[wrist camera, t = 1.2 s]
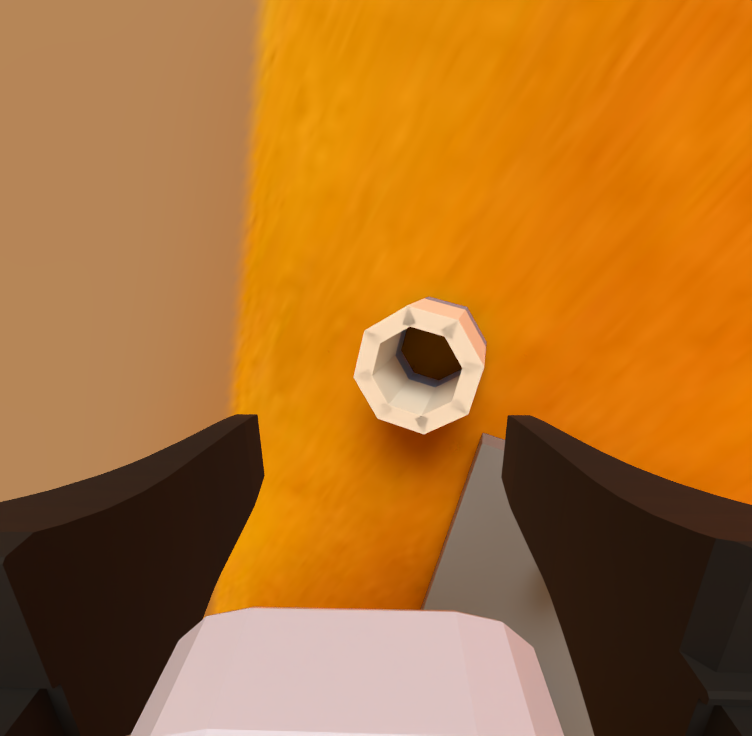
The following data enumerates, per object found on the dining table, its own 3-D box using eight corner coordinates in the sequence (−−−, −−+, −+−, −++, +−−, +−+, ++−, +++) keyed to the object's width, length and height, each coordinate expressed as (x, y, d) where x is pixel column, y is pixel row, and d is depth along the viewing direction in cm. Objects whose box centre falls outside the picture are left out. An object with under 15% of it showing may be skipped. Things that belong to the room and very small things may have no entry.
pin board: (713, 509, 21) (787, 589, 15) (568, 760, 26) (587, 878, 21) (482, 432, 23) (480, 479, 18) (396, 677, 29) (375, 766, 24)
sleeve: (495, 314, 21) (496, 330, 16) (466, 403, 23) (457, 446, 17) (402, 289, 22) (372, 295, 17) (380, 375, 24) (346, 407, 18)
